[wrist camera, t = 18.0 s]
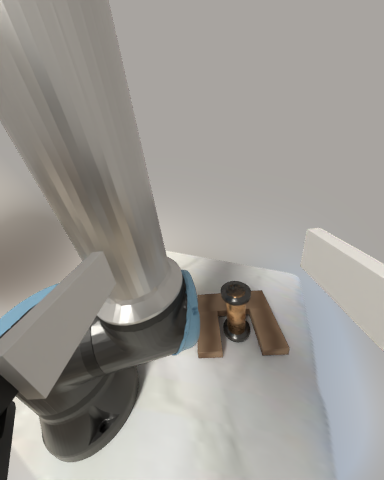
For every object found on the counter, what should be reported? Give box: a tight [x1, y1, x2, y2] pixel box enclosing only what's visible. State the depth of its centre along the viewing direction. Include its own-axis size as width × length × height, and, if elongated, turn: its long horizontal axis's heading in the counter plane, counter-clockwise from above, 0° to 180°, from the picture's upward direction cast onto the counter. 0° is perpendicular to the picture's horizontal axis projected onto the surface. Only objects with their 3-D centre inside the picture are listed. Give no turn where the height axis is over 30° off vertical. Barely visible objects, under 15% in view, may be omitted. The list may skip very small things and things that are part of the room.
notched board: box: [198, 290, 289, 358], centre depth 41 cm, size 18×16×2 cm
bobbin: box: [221, 281, 251, 342], centre depth 38 cm, size 6×6×12 cm
